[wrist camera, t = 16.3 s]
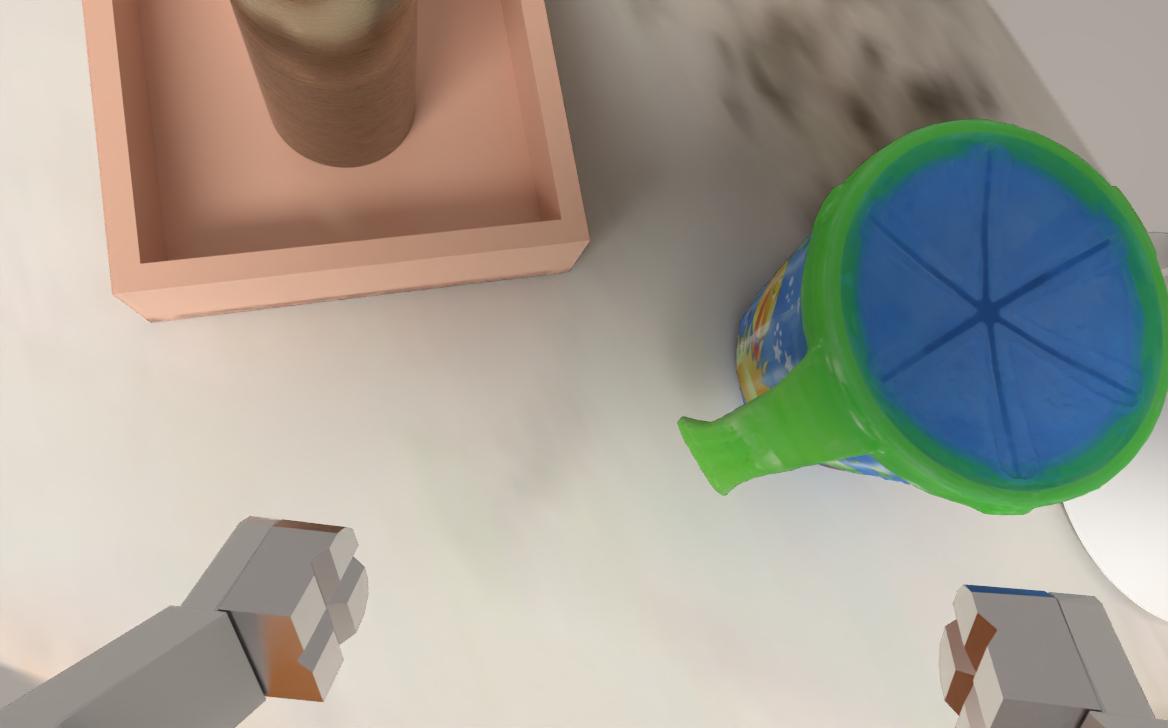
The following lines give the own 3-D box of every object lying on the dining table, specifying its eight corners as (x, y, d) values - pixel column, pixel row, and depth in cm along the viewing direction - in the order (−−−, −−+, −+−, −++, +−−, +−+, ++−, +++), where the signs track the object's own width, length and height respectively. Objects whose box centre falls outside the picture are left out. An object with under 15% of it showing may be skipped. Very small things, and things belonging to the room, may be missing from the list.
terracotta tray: (504, -72, 31) (516, -143, 28) (569, 271, 29) (589, 240, 26) (108, -67, 28) (67, -147, 24) (151, 322, 26) (112, 294, 22)
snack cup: (698, 586, 28) (853, 626, 18) (582, 313, 29) (671, 211, 19) (1031, 421, 32) (1303, 381, 22) (921, 186, 33) (1136, 49, 23)
